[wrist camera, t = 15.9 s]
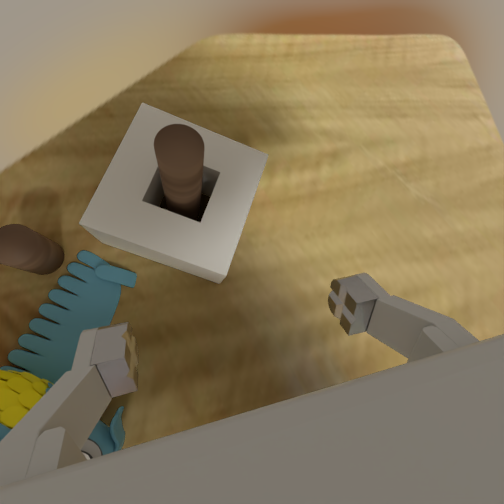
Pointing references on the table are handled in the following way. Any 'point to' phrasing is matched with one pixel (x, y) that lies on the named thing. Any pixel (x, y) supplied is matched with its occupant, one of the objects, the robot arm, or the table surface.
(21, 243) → the short pin
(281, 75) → the table surface
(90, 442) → the blue yellow bird figure
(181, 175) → the long pin
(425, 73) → the table surface
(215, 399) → the table surface
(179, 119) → the hole block
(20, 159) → the table surface
